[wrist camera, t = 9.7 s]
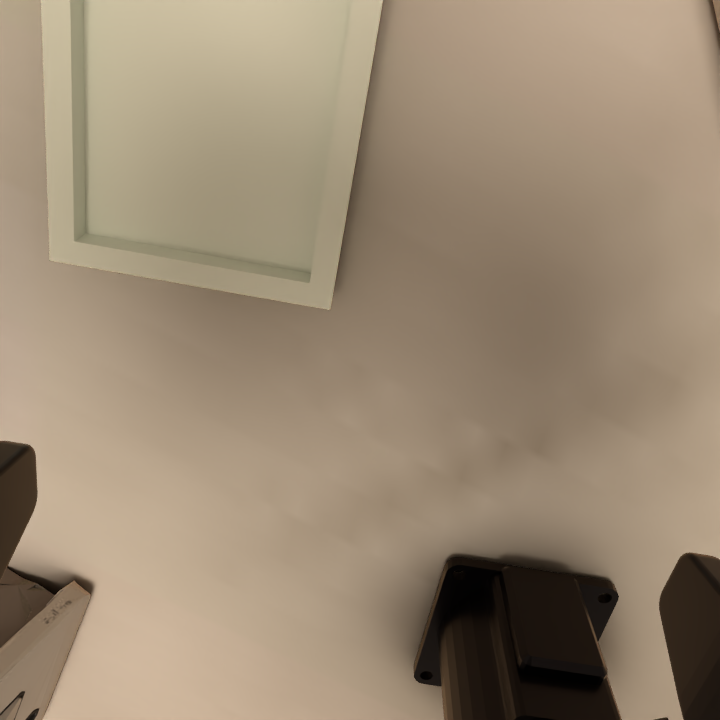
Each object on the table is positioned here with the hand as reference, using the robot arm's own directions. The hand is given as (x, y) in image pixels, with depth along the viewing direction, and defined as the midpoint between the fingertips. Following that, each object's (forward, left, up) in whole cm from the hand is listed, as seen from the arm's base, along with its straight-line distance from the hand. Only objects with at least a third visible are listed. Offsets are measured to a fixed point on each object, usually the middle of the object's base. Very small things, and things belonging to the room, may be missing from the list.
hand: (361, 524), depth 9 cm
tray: (+3, +5, -12) cm, 13 cm away
